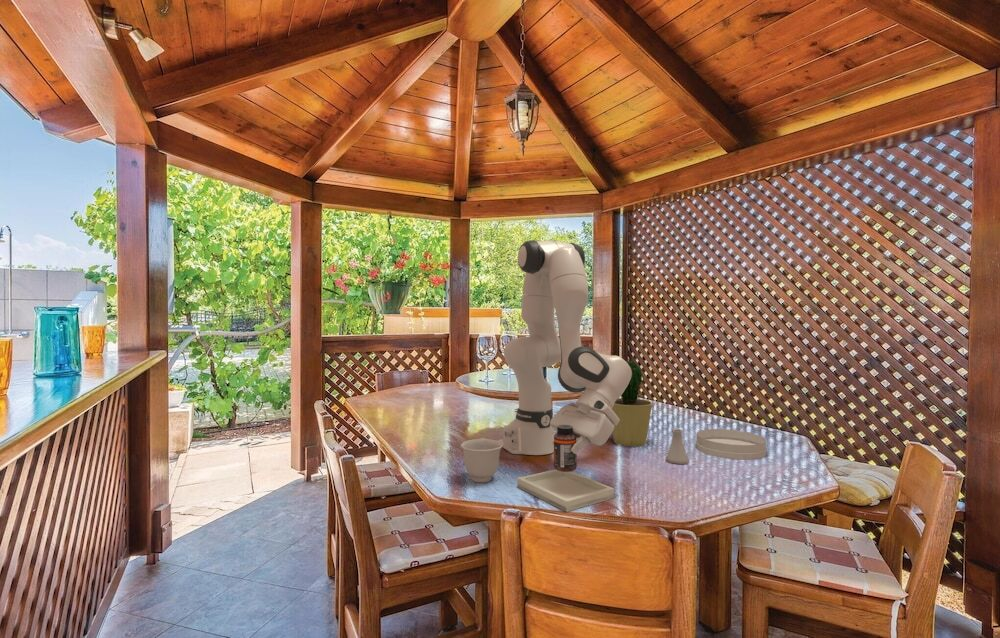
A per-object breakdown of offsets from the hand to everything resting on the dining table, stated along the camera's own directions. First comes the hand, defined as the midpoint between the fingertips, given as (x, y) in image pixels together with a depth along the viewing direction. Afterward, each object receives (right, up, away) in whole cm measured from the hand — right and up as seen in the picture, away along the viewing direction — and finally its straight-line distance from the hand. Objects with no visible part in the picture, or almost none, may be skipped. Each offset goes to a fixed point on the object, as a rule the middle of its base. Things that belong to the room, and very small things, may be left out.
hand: (563, 448), depth 133 cm
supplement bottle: (+1, -6, 0) cm, 6 cm away
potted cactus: (+31, -11, +51) cm, 60 cm away
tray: (0, -12, +1) cm, 12 cm away
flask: (+40, -11, +28) cm, 50 cm away
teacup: (-22, -12, +12) cm, 28 cm away
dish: (+62, -12, +41) cm, 76 cm away
